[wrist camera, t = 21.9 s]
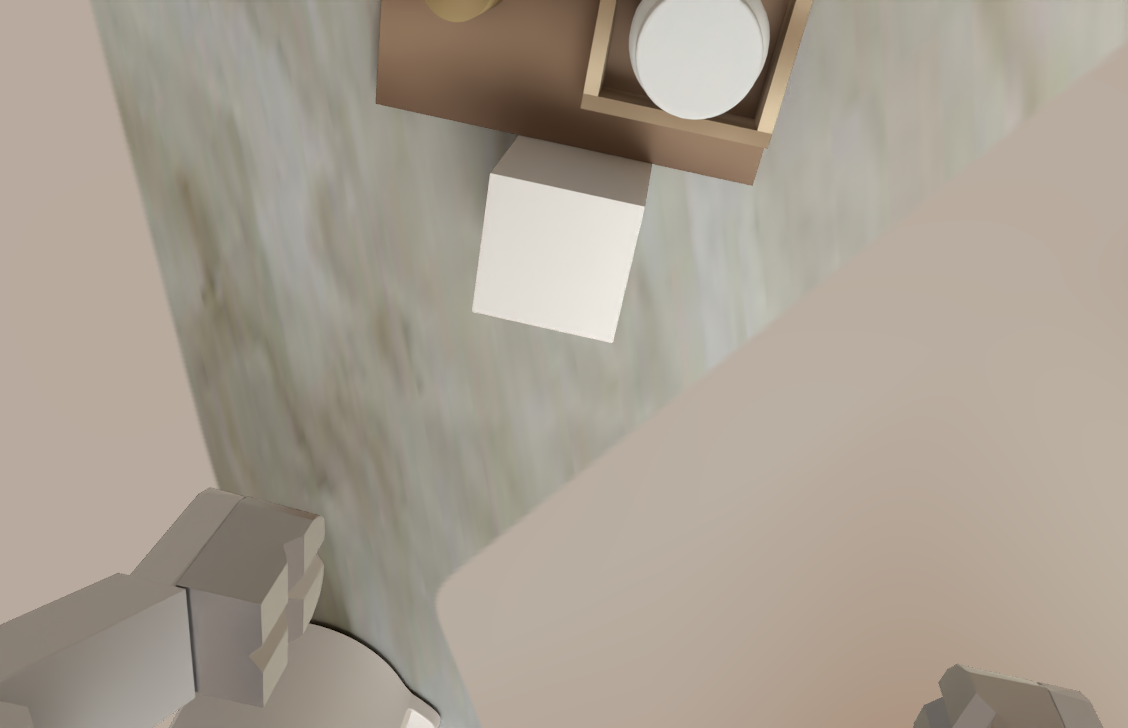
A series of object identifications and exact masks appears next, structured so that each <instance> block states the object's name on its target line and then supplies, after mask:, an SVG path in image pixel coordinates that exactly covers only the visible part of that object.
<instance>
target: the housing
mask: <svg viewBox="0 0 1128 728" xmlns="http://www.w3.org/2000/svg"><path fill="white" fill-rule="evenodd" d="M651 167H652V164H651V163H646V162H642V161H637V160H632V159H628V158H623V157H619V156H614V155H609V154H605V153H600V152H596V151H591V150H587V149H582V148H577V147H573V146H568V145H564V144H559V143H554V142H550V141H545V140H541V139H536V138H531V137H527V136H522V135H519V136H518V137H517V138H516V140H515V141H514V142H513V144H512V145H511V146H510V148H509V149H508V150H507V151H506V153H505V154H504V155H503V157H502V158H501V159H500V161H499V162H498V163H497V165H496V166H495V167H494V169H493V170H492V171H491V173H490V178H489V186H488V193H487V201H486V209H485V216H484V224H483V232H482V239H481V247H480V255H479V262H478V270H477V278H476V285H475V293H474V301H473V308H472V312H475V313H480V314H484V315H489V316H493V317H498V318H502V319H507V320H511V321H516V322H520V323H525V324H529V325H534V326H538V327H543V328H547V329H552V330H556V331H560V332H565V333H569V334H574V335H578V336H583V337H587V338H592V339H596V340H601V341H605V342H610V343H613V340H614V335H615V331H616V327H617V323H618V319H619V314H620V310H621V306H622V302H623V297H624V293H625V289H626V285H627V280H628V276H629V272H630V268H631V264H632V259H633V255H634V251H635V247H636V242H637V238H638V234H639V230H640V226H641V221H642V217H643V213H644V209H645V203H646V197H647V191H648V185H649V179H650V173H651Z"/></svg>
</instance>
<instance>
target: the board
mask: <svg viewBox="0 0 1128 728" xmlns="http://www.w3.org/2000/svg"><path fill="white" fill-rule="evenodd" d="M640 2H641V0H381V17H380V35H379V53H378V71H377V89H376V104H380V105H384V106H389V107H394V108H398V109H403V110H407V111H412V112H417V113H421V114H426V115H430V116H435V117H439V118H444V119H449V120H453V121H458V122H462V123H467V124H472V125H476V126H481V127H485V128H490V129H495V130H499V131H504V132H508V133H513V134H518V135H522V136H527V137H531V138H536V139H541V140H545V141H550V142H554V143H559V144H564V145H568V146H573V147H577V148H582V149H587V150H591V151H596V152H600V153H605V154H609V155H614V156H619V157H623V158H628V159H632V160H637V161H642V162H646V163H651V164H655V165H660V166H665V167H669V168H674V169H678V170H683V171H688V172H692V173H697V174H701V175H706V176H711V177H715V178H720V179H724V180H729V181H734V182H738V183H743V184H747V185H752V186H753V182H754V179H755V176H756V172H757V169H758V166H759V163H760V159H761V156H762V153H763V150H764V148H766V149H768V145H769V142H770V139H771V136H772V132H773V129H774V126H775V123H776V119H777V116H778V113H779V110H780V107H781V103H782V100H783V97H784V94H785V90H786V87H787V84H788V81H789V77H790V74H791V71H792V68H793V64H794V61H795V58H796V55H797V51H798V48H799V45H800V42H801V38H802V35H803V32H804V29H805V26H806V22H807V19H808V16H809V13H810V9H811V6H812V3H813V0H761V2H762V4H763V7H764V9H765V11H766V12H767V17H768V20H769V27H770V40H769V48H768V54H767V58H766V61H765V64H764V67H763V69H762V71H761V73H760V75H759V77H758V78H757V80H756V81H755V83H754V85H753V87H752V88H751V89H750V91H749V92H748V93H747V95H746V96H745V97H744V98H743V99H742V100H741V101H740V102H739V103H738V104H737V105H735V106H734V107H733V108H731V109H730V110H728V111H726V112H724V113H722V114H720V115H718V116H714V117H711V118H706V119H697V120H692V119H684V118H680V117H677V116H674V115H671V114H669V113H667V112H666V111H664V110H662V109H661V108H660V107H658V106H657V105H656V104H655V103H654V102H653V101H652V100H651V99H650V98H649V96H648V95H647V94H646V92H645V91H644V89H643V88H642V86H641V85H640V83H639V82H638V80H637V78H636V76H635V73H634V71H633V68H632V64H631V60H630V54H629V34H630V29H631V24H632V20H633V17H634V14H635V12H636V9H637V7H638V5H639V3H640Z"/></svg>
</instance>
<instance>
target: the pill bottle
mask: <svg viewBox="0 0 1128 728" xmlns="http://www.w3.org/2000/svg"><path fill="white" fill-rule="evenodd" d="M769 40H770V27H769V20H768V17H767V12H766V11H765V9H764V7H763V4H762V2H761V0H641V2H640V3H639V5H638V7H637V9H636V12H635V14H634V17H633V20H632V24H631V29H630V34H629V54H630V60H631V64H632V68H633V71H634V73H635V76H636V78H637V80H638V82H639V83H640V85H641V86H642V88H643V89H644V91H645V92H646V94H647V95H648V96H649V98H650V99H651V100H652V101H653V102H654V103H655V104H656V105H657V106H658V107H660V108H661V109H662V110H664V111H666V112H667V113H669V114H671V115H674V116H677V117H680V118H684V119H692V120H697V119H706V118H711V117H714V116H718V115H720V114H722V113H724V112H726V111H728V110H730V109H731V108H733V107H734V106H735V105H737V104H738V103H739V102H740V101H741V100H742V99H743V98H744V97H745V96H746V95H747V93H748V92H749V91H750V89H751V88H752V87H753V85H754V83H755V81H756V80H757V78H758V77H759V75H760V73H761V71H762V69H763V67H764V64H765V61H766V58H767V54H768V48H769Z"/></svg>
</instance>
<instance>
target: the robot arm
mask: <svg viewBox="0 0 1128 728" xmlns="http://www.w3.org/2000/svg"><path fill="white" fill-rule="evenodd" d="M324 539H325V519H324V518H323V517H321V516H320V515H317V514H313V513H309V512H305V511H302V510H298V509H294V508H290V507H286V506H282V505H279V504H275V503H271V502H267V501H263V500H259V499H256V498H252V497H245V496H241V495H237V494H233V493H229V492H226V491H222V490H218V489H214V488H208V489H207V490H205V491H203V492H201V493H200V494H198V495H197V496H196V498H195V499H194V500H193V501H192V502H191V503H190V505H189V506H188V507H187V508H186V509H185V511H184V512H183V513H182V514H181V515H180V516H179V518H178V519H177V520H176V521H175V522H174V524H173V525H172V526H171V527H170V528H169V530H168V531H167V532H166V533H165V534H164V535H163V537H162V538H161V539H160V540H159V542H158V543H157V544H156V545H155V546H154V547H153V549H152V550H151V551H150V552H149V553H148V554H147V556H146V557H145V558H144V559H143V560H142V562H141V563H140V564H139V565H138V566H137V567H136V569H135V570H134V571H133V572H132V573H131V575H125V574H120V573H117V574H115V575H113V576H110V577H108V578H106V579H103V580H101V581H99V582H96V583H94V584H92V585H90V586H88V587H85V588H83V589H81V590H78V591H76V592H74V593H72V594H70V595H67V596H65V597H62V598H60V599H58V600H56V601H53V602H51V603H49V604H47V605H44V606H42V607H40V608H37V609H35V610H33V611H31V612H28V613H26V614H24V615H22V616H20V617H17V618H15V619H12V620H10V621H8V622H6V623H3V624H1V625H0V728H153V727H154V726H155V725H157V724H159V723H160V722H162V721H163V720H164V719H165V718H167V717H168V716H170V715H171V714H173V713H174V712H176V711H177V710H178V712H177V714H176V716H175V717H174V719H173V721H172V723H171V725H170V727H169V728H438V726H439V724H440V716H439V715H438V713H437V712H436V711H435V710H434V709H433V708H431V707H430V706H429V705H428V704H426V703H425V702H423V701H422V700H421V699H419V698H418V697H416V696H415V695H413V694H412V693H411V692H410V691H409V690H408V689H407V688H406V686H405V685H404V684H403V682H402V681H401V680H400V678H399V677H398V675H397V674H396V673H395V672H394V670H393V669H392V668H391V667H390V666H389V665H388V664H387V663H386V662H385V661H384V660H383V659H382V658H380V657H379V656H378V655H377V654H376V653H374V652H373V651H372V650H370V649H369V648H367V647H366V646H364V645H362V644H361V643H359V642H357V641H356V640H354V639H352V638H350V637H348V636H346V635H343V634H341V633H339V632H336V631H334V630H331V629H328V628H325V627H321V626H318V625H313V624H309V622H310V620H311V618H312V616H313V613H314V610H315V607H316V605H317V602H318V599H319V596H320V592H321V587H322V581H323V572H324V563H323V562H322V560H321V559H320V557H319V556H318V555H317V551H318V549H319V547H320V546H321V544H322V542H323V540H324ZM939 686H940V689H941V692H942V696H943V697H941V698H939V699H937V700H935V701H932V702H930V703H928V704H926V705H924V706H923V708H922V710H921V711H920V713H919V715H918V717H917V719H916V721H915V722H914V726H913V728H1103V726H1102V724H1101V722H1100V720H1099V718H1098V716H1097V714H1096V712H1095V710H1094V708H1093V706H1092V704H1091V702H1090V701H1089V700H1088V698H1087V697H1085V696H1084V695H1083V694H1082V693H1081V692H1080V691H1076V690H1072V689H1067V688H1063V687H1058V686H1053V685H1049V684H1044V683H1040V682H1037V683H1035V682H1033V681H1031V680H1027V679H1022V678H1018V677H1013V676H1009V675H1004V674H1000V673H995V672H991V671H986V670H982V669H978V668H973V667H969V666H964V665H960V664H956V665H954V666H952V667H951V668H949V669H947V671H946V672H945V674H944V675H943V677H942V678H941V680H940V681H939Z"/></svg>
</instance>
